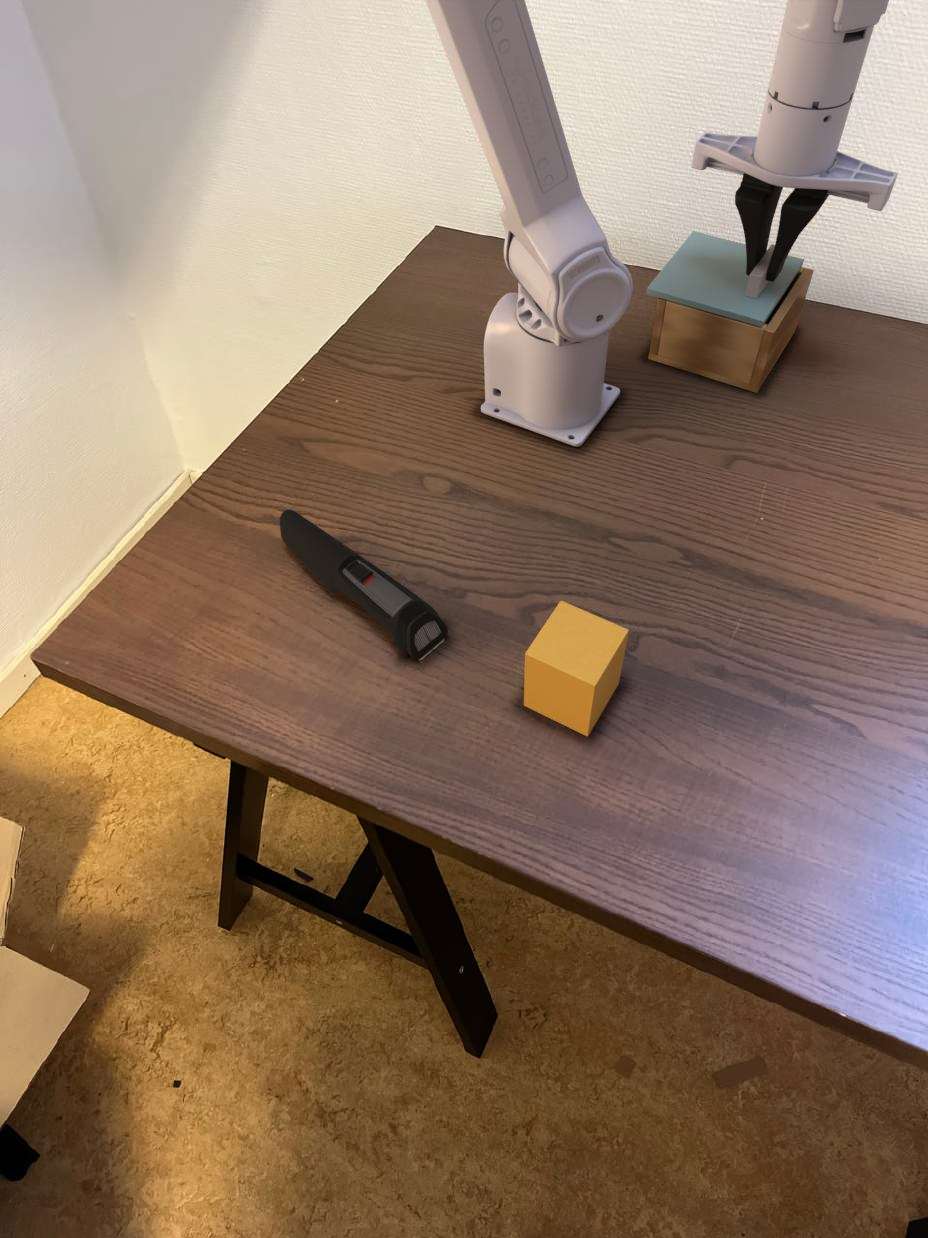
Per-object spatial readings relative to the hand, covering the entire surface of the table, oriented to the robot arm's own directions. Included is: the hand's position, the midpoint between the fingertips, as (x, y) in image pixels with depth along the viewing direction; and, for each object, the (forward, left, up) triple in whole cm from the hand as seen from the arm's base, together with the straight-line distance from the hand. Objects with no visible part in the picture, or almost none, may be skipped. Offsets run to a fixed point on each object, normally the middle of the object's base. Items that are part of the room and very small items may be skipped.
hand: (763, 272), depth 70 cm
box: (-2, 0, -8) cm, 8 cm away
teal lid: (-3, 0, -1) cm, 3 cm away
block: (+3, -40, -8) cm, 40 cm away
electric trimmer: (-14, -40, -8) cm, 43 cm away
